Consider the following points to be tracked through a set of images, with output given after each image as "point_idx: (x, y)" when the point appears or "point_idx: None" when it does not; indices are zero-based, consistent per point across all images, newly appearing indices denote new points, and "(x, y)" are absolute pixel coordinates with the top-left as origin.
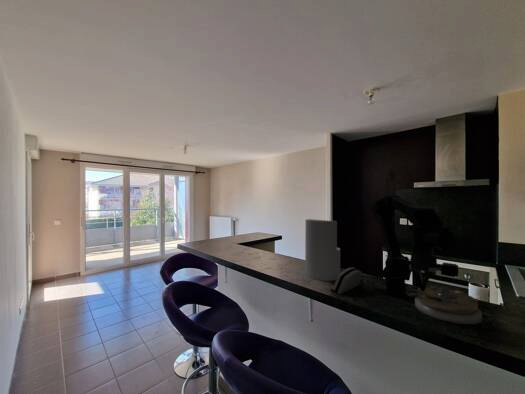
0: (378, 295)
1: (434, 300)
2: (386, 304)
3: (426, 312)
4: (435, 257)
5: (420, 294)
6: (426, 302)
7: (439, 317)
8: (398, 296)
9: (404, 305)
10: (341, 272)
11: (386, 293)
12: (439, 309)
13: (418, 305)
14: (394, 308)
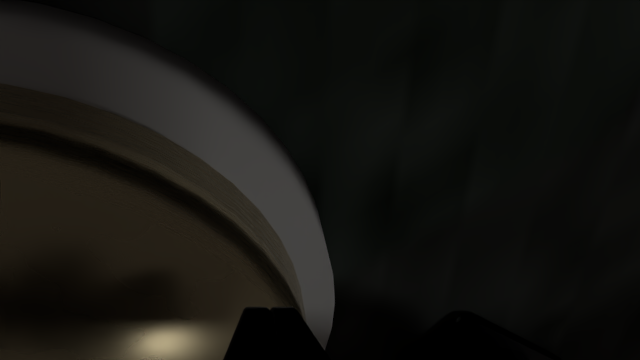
0: (619, 287)
1: (74, 183)
2: (608, 112)
3: (212, 88)
4: None
5: None
6: (210, 195)
7: (53, 16)
8: (458, 338)
9: (423, 194)
10: None
11: (543, 350)
12: (32, 101)
13: (301, 189)
14: (548, 44)
